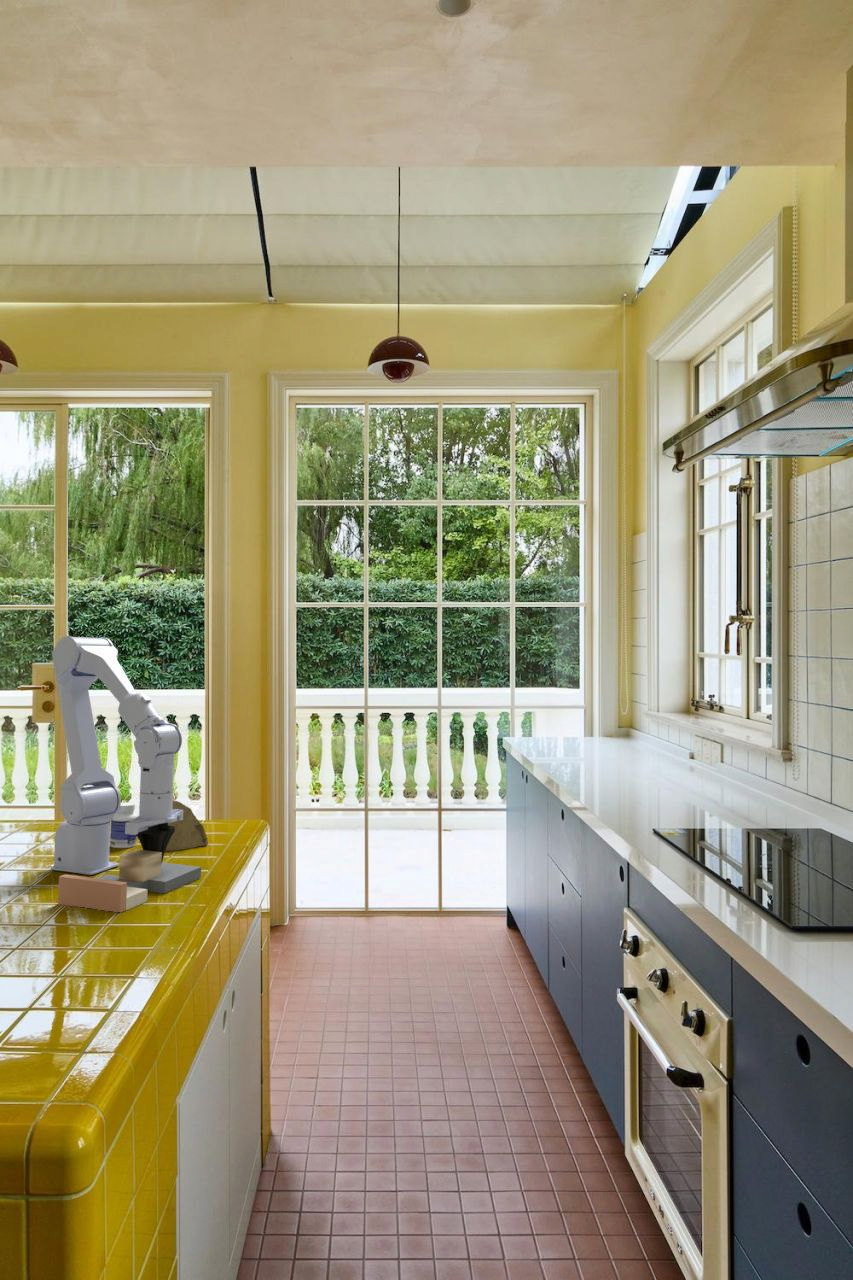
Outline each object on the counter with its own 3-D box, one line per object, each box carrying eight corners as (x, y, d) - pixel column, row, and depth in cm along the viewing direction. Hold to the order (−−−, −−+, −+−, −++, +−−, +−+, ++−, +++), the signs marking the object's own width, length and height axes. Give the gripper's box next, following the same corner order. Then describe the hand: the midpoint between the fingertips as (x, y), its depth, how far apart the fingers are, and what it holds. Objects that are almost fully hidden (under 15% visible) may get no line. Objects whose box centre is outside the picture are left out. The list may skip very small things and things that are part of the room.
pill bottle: (134, 848, 176) (135, 806, 176) (107, 849, 175) (109, 806, 176) (138, 843, 182) (139, 801, 182) (112, 843, 181) (114, 801, 181)
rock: (213, 830, 186) (168, 823, 185) (215, 804, 181) (168, 796, 180) (201, 870, 177) (153, 863, 176) (202, 843, 172) (153, 836, 171)
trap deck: (58, 904, 137) (59, 876, 137) (145, 870, 159) (146, 847, 159) (119, 913, 134) (120, 884, 134) (200, 877, 156) (201, 853, 156)
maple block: (119, 878, 146) (119, 855, 146) (137, 871, 151) (137, 849, 151) (143, 881, 145) (144, 858, 145) (161, 874, 149) (161, 852, 149)
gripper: (150, 799, 144) (147, 879, 144) (198, 787, 158) (195, 860, 157) (116, 796, 146) (113, 875, 146) (166, 784, 160) (163, 856, 160)
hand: (153, 867), depth 152 cm, fingers closed
